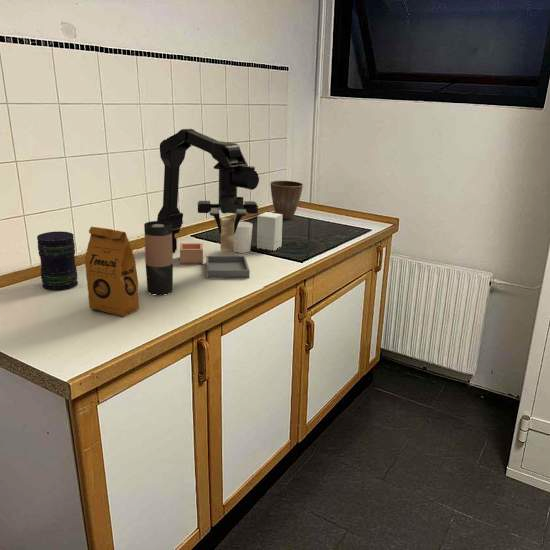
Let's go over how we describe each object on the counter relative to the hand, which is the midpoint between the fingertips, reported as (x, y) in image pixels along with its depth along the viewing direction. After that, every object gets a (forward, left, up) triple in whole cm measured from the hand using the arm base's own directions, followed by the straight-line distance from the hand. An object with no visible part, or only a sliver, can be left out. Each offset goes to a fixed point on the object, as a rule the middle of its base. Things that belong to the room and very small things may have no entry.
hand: (227, 233), depth 171 cm
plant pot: (+32, +74, -13) cm, 81 cm away
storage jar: (-49, -12, -13) cm, 52 cm away
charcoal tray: (0, 0, -12) cm, 12 cm away
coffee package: (-31, -31, -13) cm, 46 cm away
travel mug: (-20, -18, -13) cm, 30 cm away
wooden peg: (0, 0, -5) cm, 5 cm away
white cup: (+7, +22, -13) cm, 26 cm away
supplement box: (+18, +26, -13) cm, 34 cm away
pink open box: (-11, +10, -12) cm, 20 cm away
